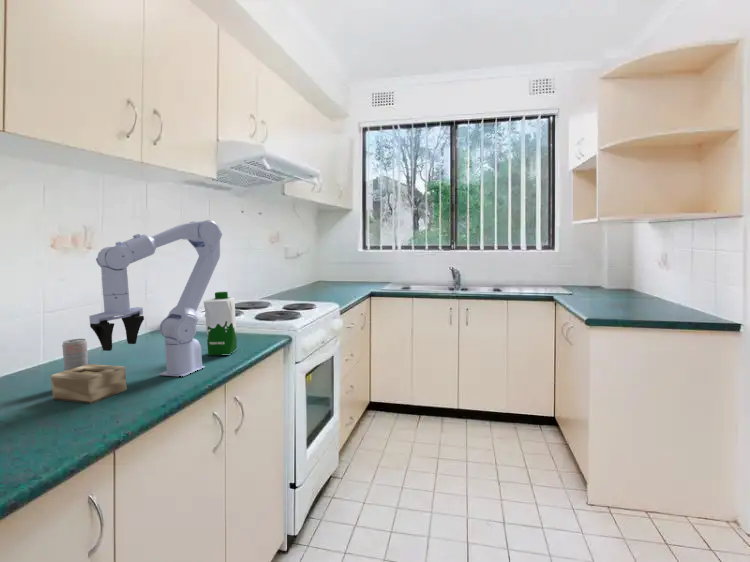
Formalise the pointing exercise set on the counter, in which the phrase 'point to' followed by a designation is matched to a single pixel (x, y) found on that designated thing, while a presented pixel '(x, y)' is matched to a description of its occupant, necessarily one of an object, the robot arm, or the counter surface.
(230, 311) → the milk carton
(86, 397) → the box
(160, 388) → the counter surface
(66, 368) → the energy drink
